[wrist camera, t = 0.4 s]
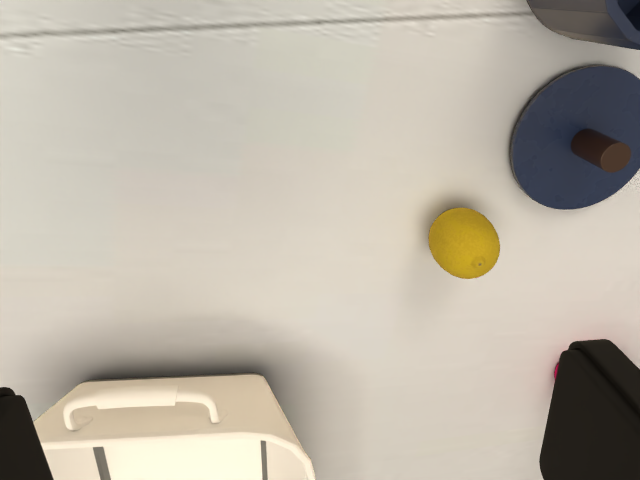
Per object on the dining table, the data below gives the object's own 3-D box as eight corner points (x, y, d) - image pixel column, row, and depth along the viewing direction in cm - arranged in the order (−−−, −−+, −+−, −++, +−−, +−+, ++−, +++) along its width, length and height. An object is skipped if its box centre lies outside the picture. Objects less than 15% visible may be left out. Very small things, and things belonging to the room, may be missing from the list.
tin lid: (516, 69, 41) (549, 80, 36) (663, 59, 42) (716, 68, 37) (500, 210, 47) (527, 236, 42) (630, 199, 48) (673, 224, 43)
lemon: (489, 208, 47) (528, 248, 40) (457, 257, 49) (489, 304, 42) (438, 185, 45) (470, 222, 38) (407, 236, 47) (431, 281, 40)
